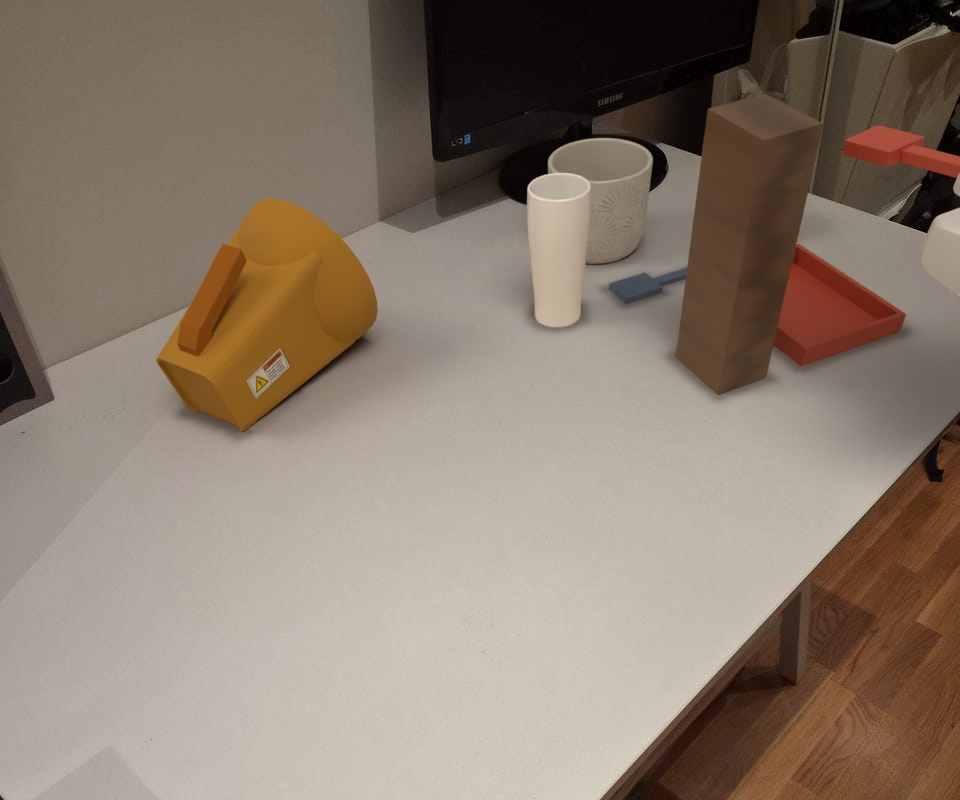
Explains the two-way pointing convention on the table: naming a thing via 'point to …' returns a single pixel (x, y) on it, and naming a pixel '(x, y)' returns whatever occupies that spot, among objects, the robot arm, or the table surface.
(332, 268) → the flared yellow plastic housing
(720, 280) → the stand
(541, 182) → the drinking glass
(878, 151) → the red spoon
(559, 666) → the table surface
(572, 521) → the table surface
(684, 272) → the blue spoon
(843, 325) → the red tray
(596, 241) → the planter
